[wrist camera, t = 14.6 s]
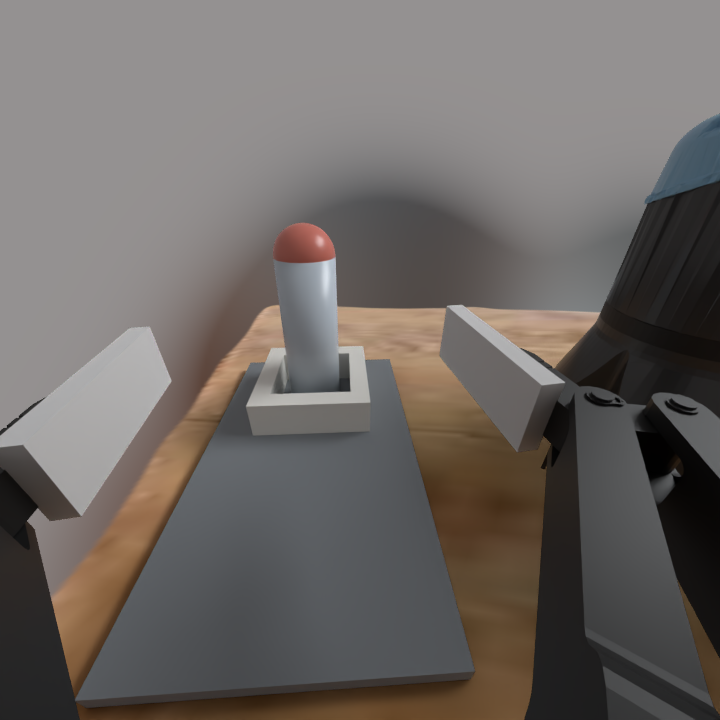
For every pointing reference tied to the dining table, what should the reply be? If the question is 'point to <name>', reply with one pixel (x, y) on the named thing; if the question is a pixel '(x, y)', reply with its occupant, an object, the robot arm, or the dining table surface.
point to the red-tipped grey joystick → (308, 307)
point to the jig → (292, 556)
